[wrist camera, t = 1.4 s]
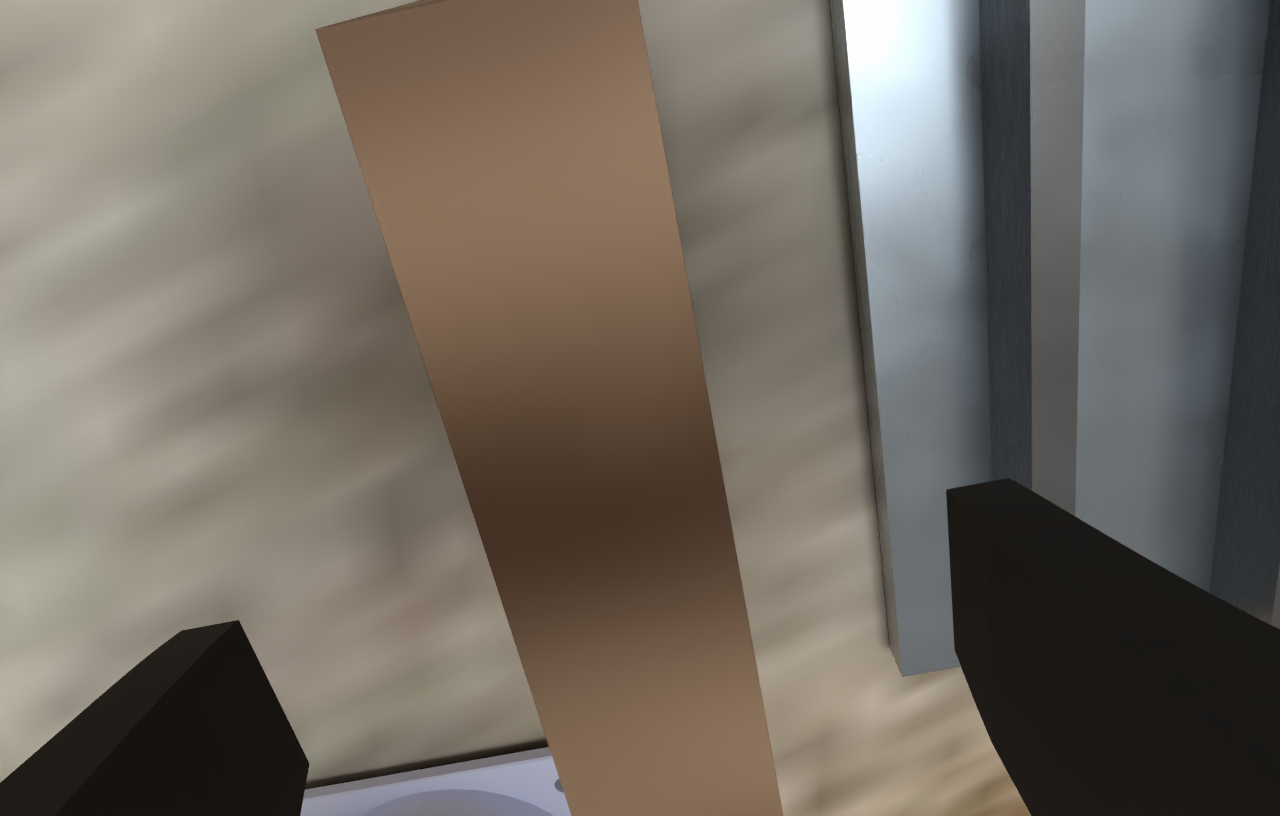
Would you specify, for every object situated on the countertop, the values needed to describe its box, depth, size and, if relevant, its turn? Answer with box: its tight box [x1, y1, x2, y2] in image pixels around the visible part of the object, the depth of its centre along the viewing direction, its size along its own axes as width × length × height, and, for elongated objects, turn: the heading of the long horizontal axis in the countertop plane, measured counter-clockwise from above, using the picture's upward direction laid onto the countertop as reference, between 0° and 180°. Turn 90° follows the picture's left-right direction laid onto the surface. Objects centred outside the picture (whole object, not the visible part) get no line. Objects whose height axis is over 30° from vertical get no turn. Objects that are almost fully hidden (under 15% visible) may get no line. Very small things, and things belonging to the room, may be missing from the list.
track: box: [830, 0, 1280, 677], centre depth 16 cm, size 20×10×3 cm, turn 11°
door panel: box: [315, 0, 783, 816], centre depth 15 cm, size 12×3×8 cm, turn 11°
